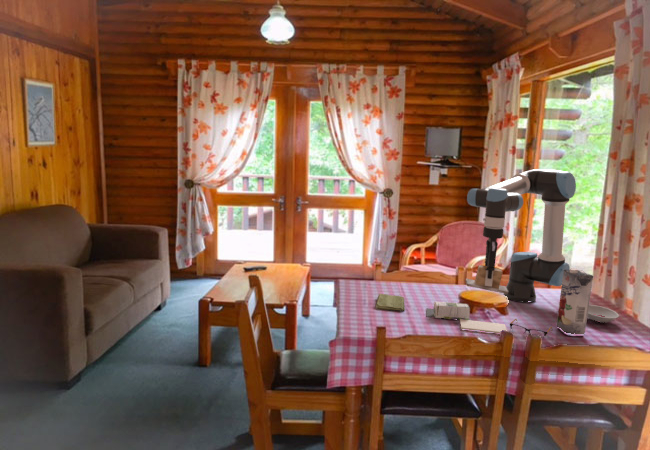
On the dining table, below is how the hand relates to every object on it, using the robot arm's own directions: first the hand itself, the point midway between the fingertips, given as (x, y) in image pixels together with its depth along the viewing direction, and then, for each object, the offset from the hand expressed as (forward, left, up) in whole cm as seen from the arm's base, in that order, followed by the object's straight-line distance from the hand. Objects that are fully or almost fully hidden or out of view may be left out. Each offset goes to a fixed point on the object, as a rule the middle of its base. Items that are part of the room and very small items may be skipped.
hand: (487, 284), depth 207 cm
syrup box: (+5, -10, -16) cm, 19 cm away
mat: (+15, -12, -19) cm, 27 cm away
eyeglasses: (-19, -4, -19) cm, 28 cm away
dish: (-51, -26, -19) cm, 60 cm away
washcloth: (+39, -18, -20) cm, 47 cm away
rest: (0, 0, -19) cm, 19 cm away
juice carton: (-35, -7, -19) cm, 41 cm away
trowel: (0, 0, -1) cm, 1 cm away
